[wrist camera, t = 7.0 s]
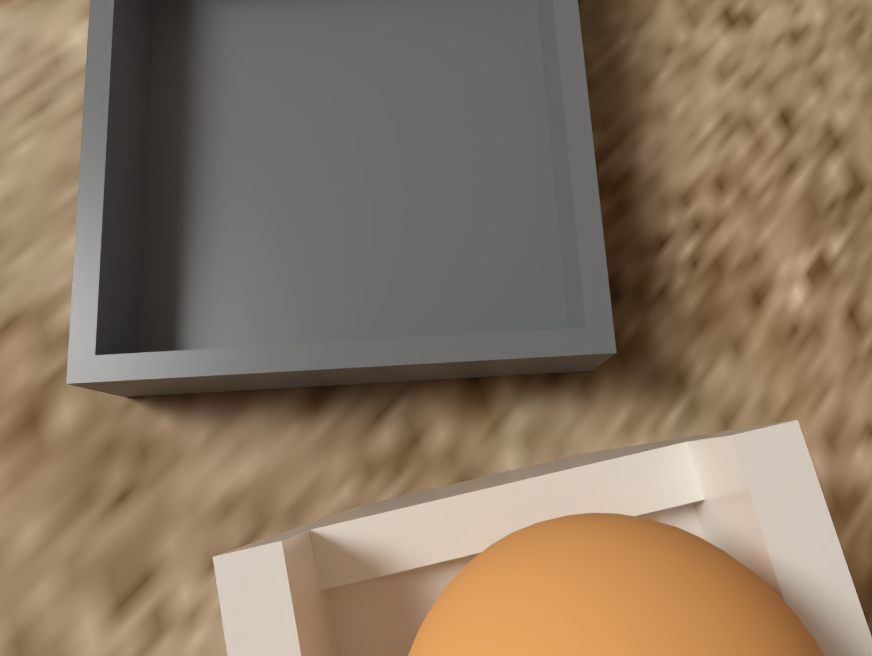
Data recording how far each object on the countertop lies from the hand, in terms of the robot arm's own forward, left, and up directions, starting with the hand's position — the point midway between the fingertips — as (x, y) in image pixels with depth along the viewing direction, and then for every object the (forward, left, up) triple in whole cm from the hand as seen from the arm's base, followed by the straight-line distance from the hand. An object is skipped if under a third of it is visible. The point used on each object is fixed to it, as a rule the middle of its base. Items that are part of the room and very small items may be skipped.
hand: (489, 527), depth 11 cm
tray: (-4, +15, -17) cm, 23 cm away
